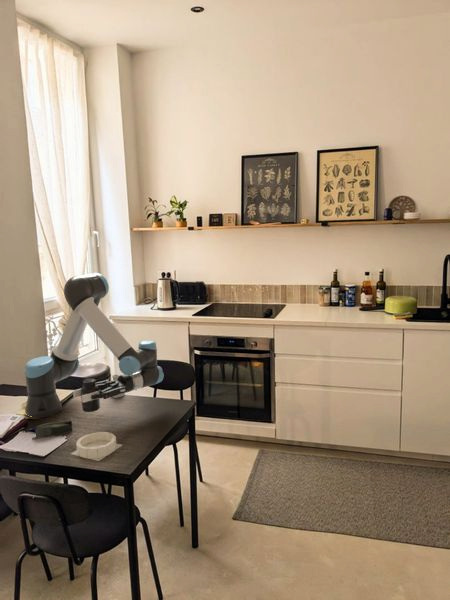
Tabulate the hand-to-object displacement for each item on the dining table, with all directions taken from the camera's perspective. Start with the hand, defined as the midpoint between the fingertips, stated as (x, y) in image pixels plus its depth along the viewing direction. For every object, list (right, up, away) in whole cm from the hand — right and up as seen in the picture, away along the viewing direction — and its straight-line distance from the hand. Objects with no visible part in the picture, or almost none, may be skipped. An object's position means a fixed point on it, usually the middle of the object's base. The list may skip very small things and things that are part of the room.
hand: (78, 396), depth 182 cm
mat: (+11, -17, -12) cm, 23 cm away
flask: (+5, -9, +43) cm, 44 cm away
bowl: (+11, -17, -12) cm, 23 cm away
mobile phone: (-11, -16, +2) cm, 19 cm away
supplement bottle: (+4, -6, +5) cm, 9 cm away
